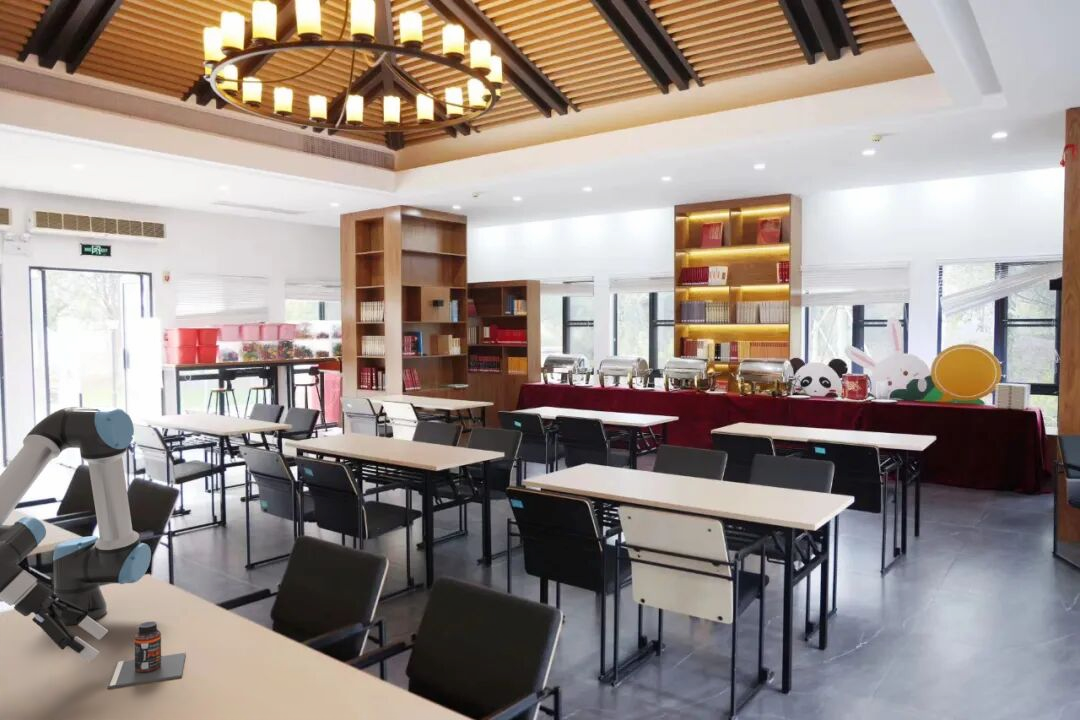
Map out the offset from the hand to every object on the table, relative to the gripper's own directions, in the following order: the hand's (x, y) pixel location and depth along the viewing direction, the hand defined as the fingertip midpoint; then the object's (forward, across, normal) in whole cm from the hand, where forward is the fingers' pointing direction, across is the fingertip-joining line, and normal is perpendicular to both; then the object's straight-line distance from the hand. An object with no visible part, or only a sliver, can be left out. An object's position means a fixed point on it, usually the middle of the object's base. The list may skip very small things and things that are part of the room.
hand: (99, 645), depth 184 cm
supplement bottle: (+13, 0, +2) cm, 13 cm away
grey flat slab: (+13, 0, +2) cm, 13 cm away
